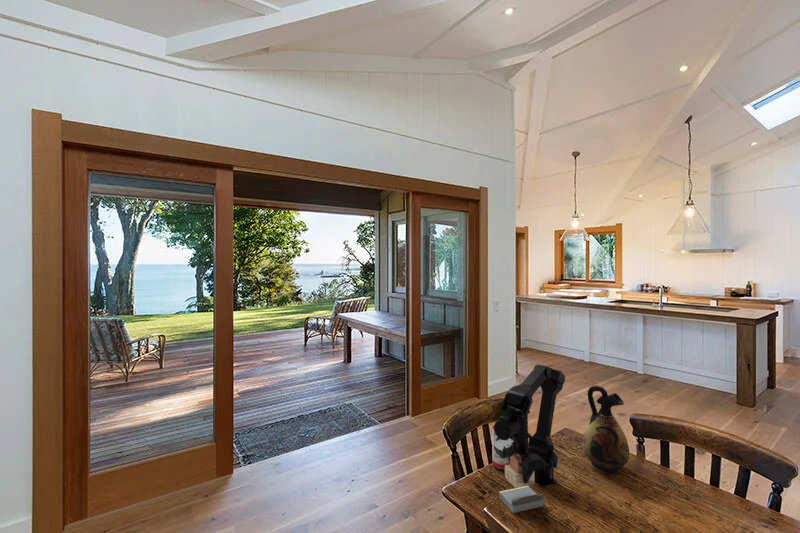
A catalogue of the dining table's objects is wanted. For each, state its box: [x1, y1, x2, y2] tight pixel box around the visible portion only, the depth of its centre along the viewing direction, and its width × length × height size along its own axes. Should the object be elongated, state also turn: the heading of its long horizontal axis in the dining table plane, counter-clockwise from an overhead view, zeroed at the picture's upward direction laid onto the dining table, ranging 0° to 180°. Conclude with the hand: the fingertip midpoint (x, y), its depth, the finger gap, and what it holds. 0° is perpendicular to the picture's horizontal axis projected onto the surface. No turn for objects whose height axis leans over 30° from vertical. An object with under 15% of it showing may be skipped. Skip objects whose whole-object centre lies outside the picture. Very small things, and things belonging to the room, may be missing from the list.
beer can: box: [491, 420, 510, 470], centre depth 140 cm, size 6×6×16 cm
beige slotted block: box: [504, 464, 536, 488], centre depth 119 cm, size 7×6×4 cm
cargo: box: [509, 454, 522, 473], centre depth 119 cm, size 4×4×4 cm
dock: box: [498, 485, 544, 514], centre depth 118 cm, size 11×8×4 cm
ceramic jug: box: [582, 384, 631, 476], centre depth 138 cm, size 17×15×30 cm
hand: (519, 477), depth 119 cm, fingers closed on beige slotted block, 6 cm apart
